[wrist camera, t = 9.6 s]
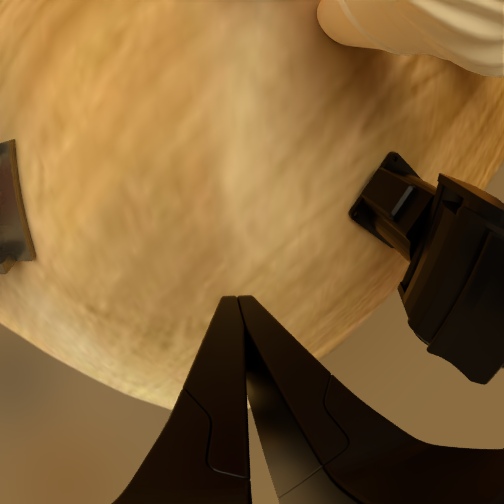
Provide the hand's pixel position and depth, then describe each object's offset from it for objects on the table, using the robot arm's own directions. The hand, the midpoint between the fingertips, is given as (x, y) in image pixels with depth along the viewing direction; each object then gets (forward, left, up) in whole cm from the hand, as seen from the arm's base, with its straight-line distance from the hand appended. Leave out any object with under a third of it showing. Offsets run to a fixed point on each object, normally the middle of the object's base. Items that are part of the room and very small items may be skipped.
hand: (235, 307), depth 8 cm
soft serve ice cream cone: (-1, -15, -12) cm, 19 cm away
